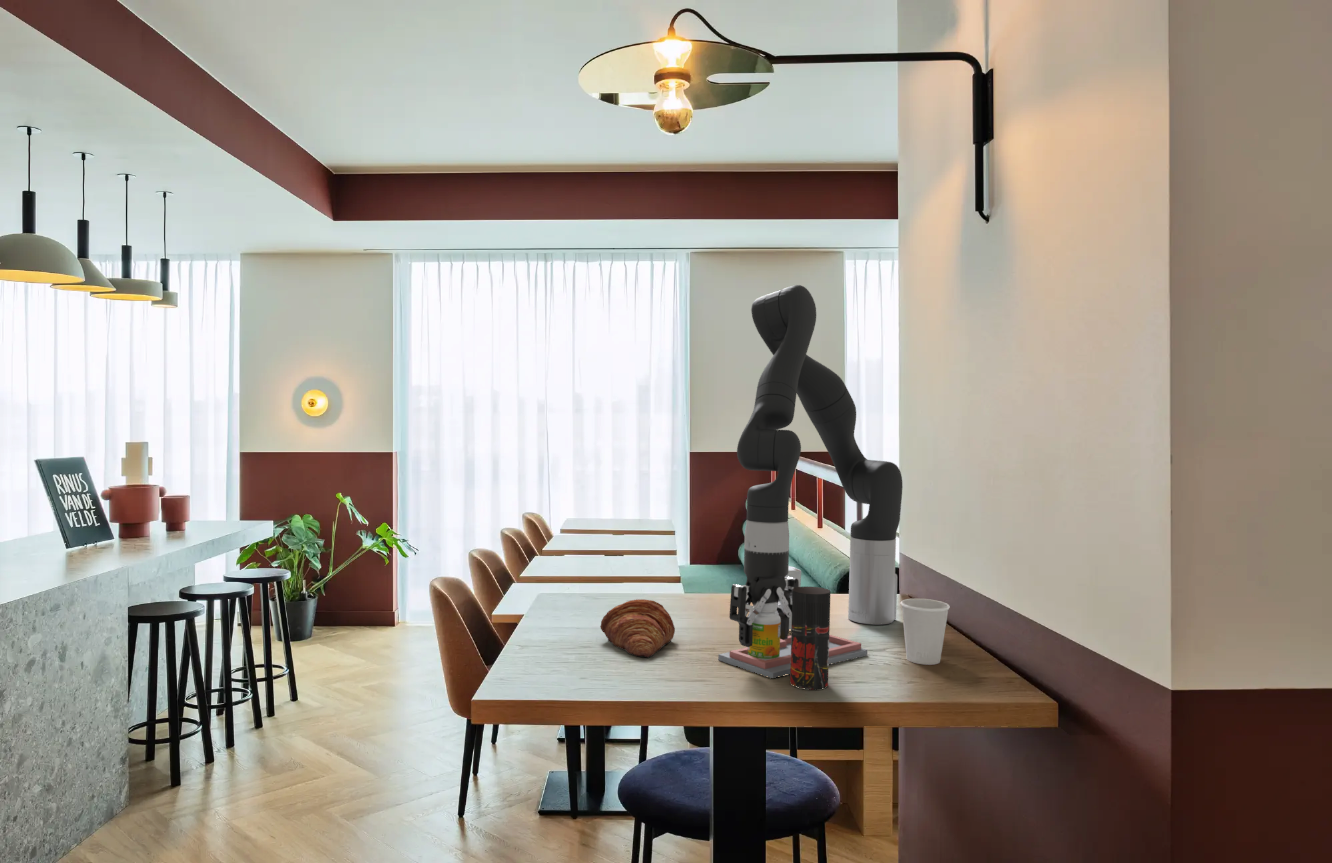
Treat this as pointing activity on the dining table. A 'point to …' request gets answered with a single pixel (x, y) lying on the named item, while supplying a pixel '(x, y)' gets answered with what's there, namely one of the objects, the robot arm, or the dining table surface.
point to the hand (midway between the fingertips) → (764, 642)
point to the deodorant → (810, 637)
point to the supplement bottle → (766, 633)
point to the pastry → (638, 627)
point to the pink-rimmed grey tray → (781, 666)
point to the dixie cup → (924, 629)
